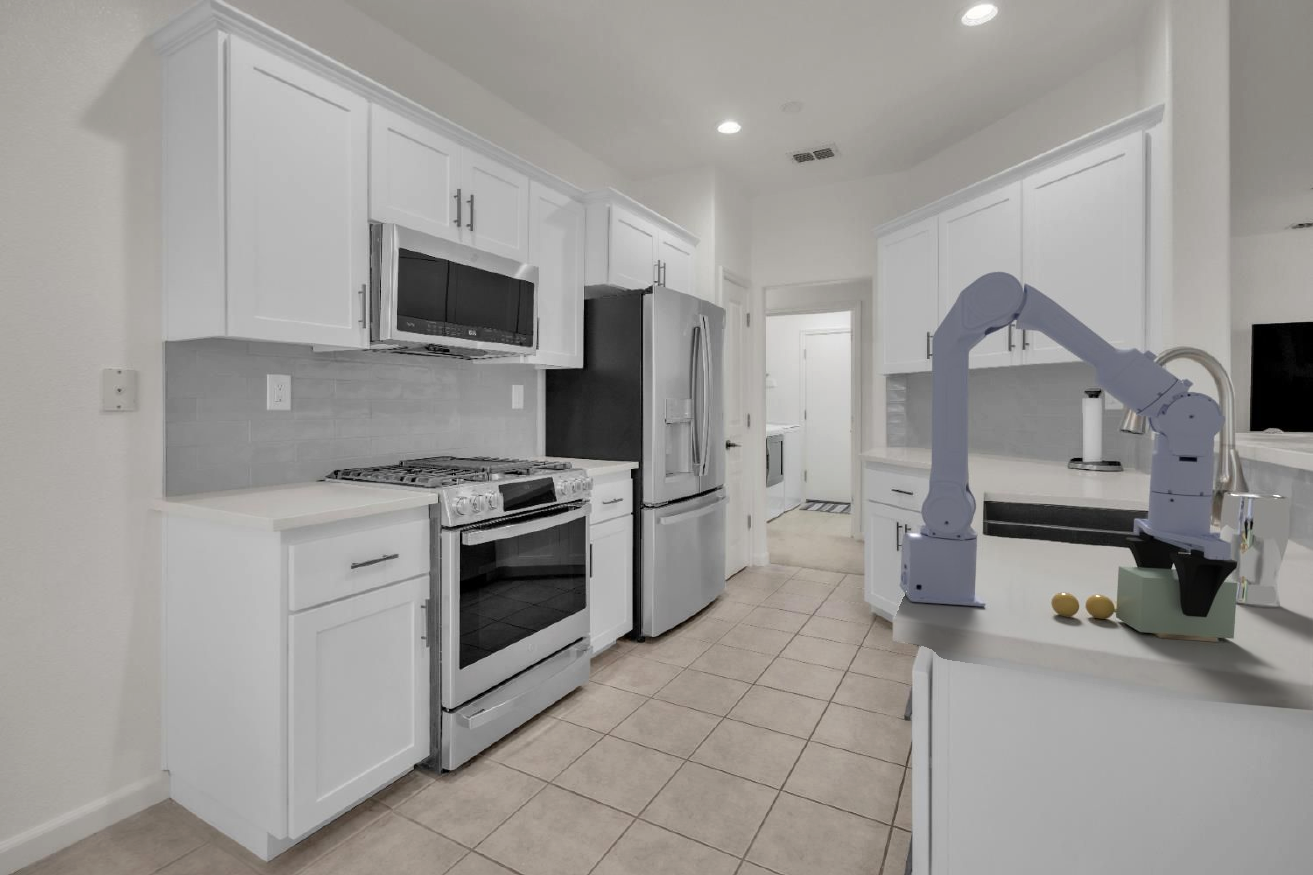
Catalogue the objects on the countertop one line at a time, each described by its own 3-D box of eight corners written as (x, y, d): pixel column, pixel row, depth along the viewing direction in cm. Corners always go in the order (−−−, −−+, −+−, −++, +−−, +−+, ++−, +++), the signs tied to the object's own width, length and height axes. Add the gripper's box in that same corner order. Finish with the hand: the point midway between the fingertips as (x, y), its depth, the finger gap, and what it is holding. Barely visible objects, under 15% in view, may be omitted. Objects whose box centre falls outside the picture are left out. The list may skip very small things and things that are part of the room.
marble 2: (1092, 621, 78) (1093, 597, 78) (1080, 613, 81) (1081, 590, 81) (1118, 623, 77) (1120, 599, 77) (1106, 615, 80) (1107, 592, 80)
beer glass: (1298, 611, 83) (1306, 499, 83) (1238, 606, 85) (1244, 497, 84) (1259, 595, 90) (1266, 492, 89) (1204, 592, 91) (1210, 490, 91)
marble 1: (1057, 618, 79) (1058, 595, 78) (1046, 611, 82) (1047, 588, 81) (1083, 620, 78) (1084, 597, 78) (1072, 613, 81) (1073, 590, 81)
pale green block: (1139, 631, 73) (1143, 577, 73) (1115, 617, 78) (1118, 566, 78) (1233, 638, 72) (1237, 582, 71) (1202, 623, 77) (1206, 571, 76)
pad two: (1159, 637, 73) (1159, 633, 73) (1130, 620, 78) (1130, 616, 78) (1218, 641, 72) (1218, 637, 71) (1184, 624, 77) (1184, 620, 77)
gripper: (1266, 503, 66) (1258, 628, 67) (1179, 486, 81) (1173, 590, 81) (1191, 500, 68) (1184, 623, 68) (1118, 484, 82) (1112, 586, 83)
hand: (1173, 605), depth 75 cm, fingers open, 7 cm apart
